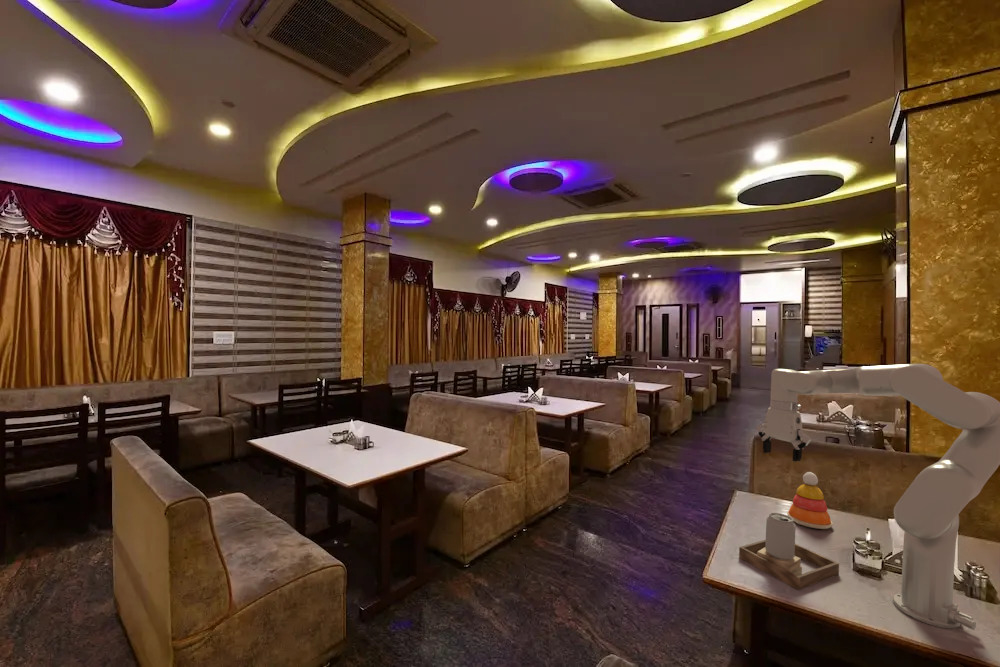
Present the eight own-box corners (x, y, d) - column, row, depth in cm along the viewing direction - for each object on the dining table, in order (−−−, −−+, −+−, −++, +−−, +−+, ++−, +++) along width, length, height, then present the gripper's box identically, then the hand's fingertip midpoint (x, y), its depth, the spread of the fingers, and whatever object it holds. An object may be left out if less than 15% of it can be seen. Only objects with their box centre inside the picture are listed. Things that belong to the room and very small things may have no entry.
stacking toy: (837, 535, 153) (839, 482, 153) (790, 526, 160) (792, 475, 159) (827, 519, 166) (829, 470, 166) (784, 512, 172) (786, 464, 172)
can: (781, 563, 125) (782, 523, 125) (759, 550, 132) (760, 512, 132) (800, 560, 127) (802, 520, 127) (778, 547, 134) (779, 510, 134)
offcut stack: (804, 574, 127) (805, 560, 127) (786, 581, 123) (786, 566, 123) (771, 557, 136) (771, 544, 136) (752, 563, 133) (753, 549, 133)
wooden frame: (838, 574, 128) (839, 563, 128) (798, 590, 119) (798, 577, 119) (778, 546, 144) (778, 535, 144) (739, 557, 136) (739, 546, 136)
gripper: (818, 410, 135) (816, 463, 135) (765, 400, 151) (763, 448, 151) (804, 411, 132) (802, 465, 132) (751, 401, 148) (749, 450, 148)
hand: (781, 456), depth 142 cm, fingers open, 9 cm apart
